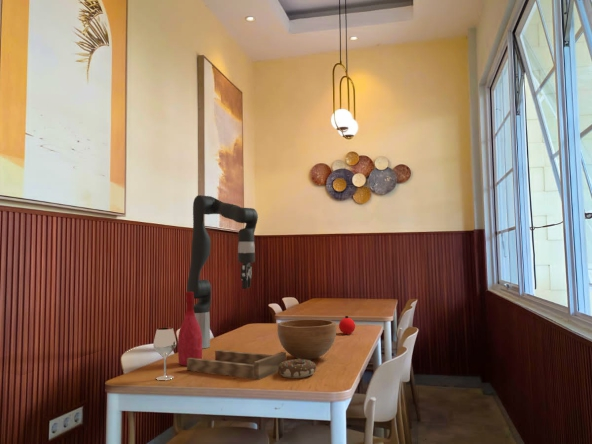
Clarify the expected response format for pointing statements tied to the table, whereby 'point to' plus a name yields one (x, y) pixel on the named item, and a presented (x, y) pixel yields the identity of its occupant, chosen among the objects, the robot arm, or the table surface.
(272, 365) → the tray
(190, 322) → the wine bottle
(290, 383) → the table surface
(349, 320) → the ornament
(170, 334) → the wineglass
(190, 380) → the table surface
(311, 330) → the bowl
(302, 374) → the donut
